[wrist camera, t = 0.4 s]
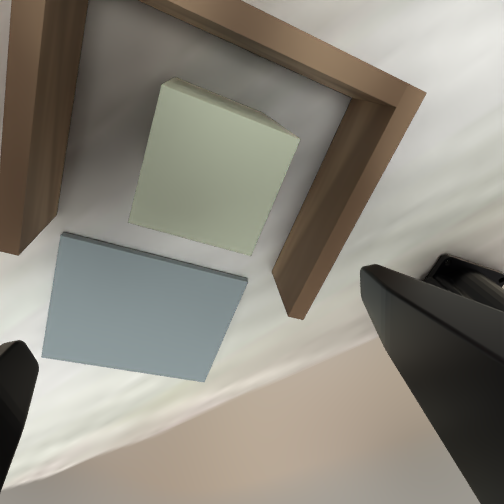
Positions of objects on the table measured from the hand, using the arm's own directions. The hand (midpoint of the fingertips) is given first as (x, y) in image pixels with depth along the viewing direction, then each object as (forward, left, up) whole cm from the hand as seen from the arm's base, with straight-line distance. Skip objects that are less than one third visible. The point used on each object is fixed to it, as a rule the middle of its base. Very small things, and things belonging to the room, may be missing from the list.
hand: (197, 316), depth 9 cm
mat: (+1, +11, -13) cm, 17 cm away
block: (0, -2, -13) cm, 13 cm away
